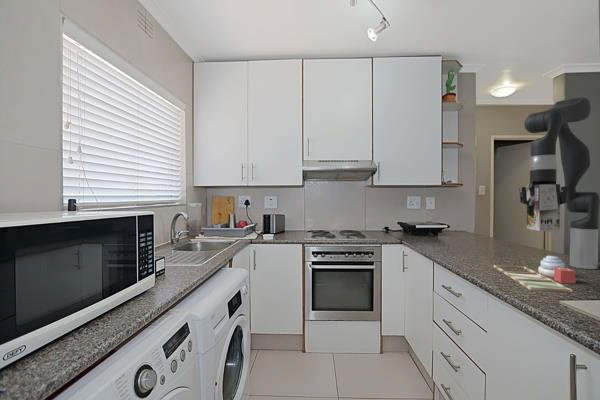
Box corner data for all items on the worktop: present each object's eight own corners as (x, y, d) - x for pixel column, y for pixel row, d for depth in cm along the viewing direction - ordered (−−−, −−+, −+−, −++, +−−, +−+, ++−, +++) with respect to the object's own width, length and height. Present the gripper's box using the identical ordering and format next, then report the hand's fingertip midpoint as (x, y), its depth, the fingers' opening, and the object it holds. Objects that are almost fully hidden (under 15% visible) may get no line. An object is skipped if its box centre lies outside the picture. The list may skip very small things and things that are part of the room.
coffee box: (560, 231, 107) (561, 183, 107) (539, 231, 108) (539, 184, 108) (545, 228, 116) (546, 184, 116) (525, 228, 117) (526, 184, 117)
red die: (554, 279, 121) (554, 267, 121) (568, 280, 120) (568, 268, 120) (560, 282, 117) (560, 270, 117) (575, 283, 115) (575, 270, 115)
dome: (536, 265, 133) (537, 254, 133) (558, 266, 131) (558, 255, 131) (546, 269, 126) (546, 257, 126) (568, 270, 124) (568, 258, 124)
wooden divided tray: (493, 266, 142) (493, 265, 142) (524, 268, 139) (524, 266, 139) (529, 289, 108) (529, 287, 108) (572, 292, 105) (572, 289, 105)
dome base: (534, 271, 134) (534, 265, 134) (559, 272, 132) (559, 266, 132) (544, 276, 125) (544, 270, 125) (571, 277, 123) (571, 271, 123)
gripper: (560, 169, 114) (560, 215, 114) (515, 170, 117) (514, 215, 118) (573, 167, 107) (572, 217, 107) (524, 168, 110) (523, 216, 110)
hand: (542, 216), depth 112 cm, fingers closed on coffee box, 6 cm apart
